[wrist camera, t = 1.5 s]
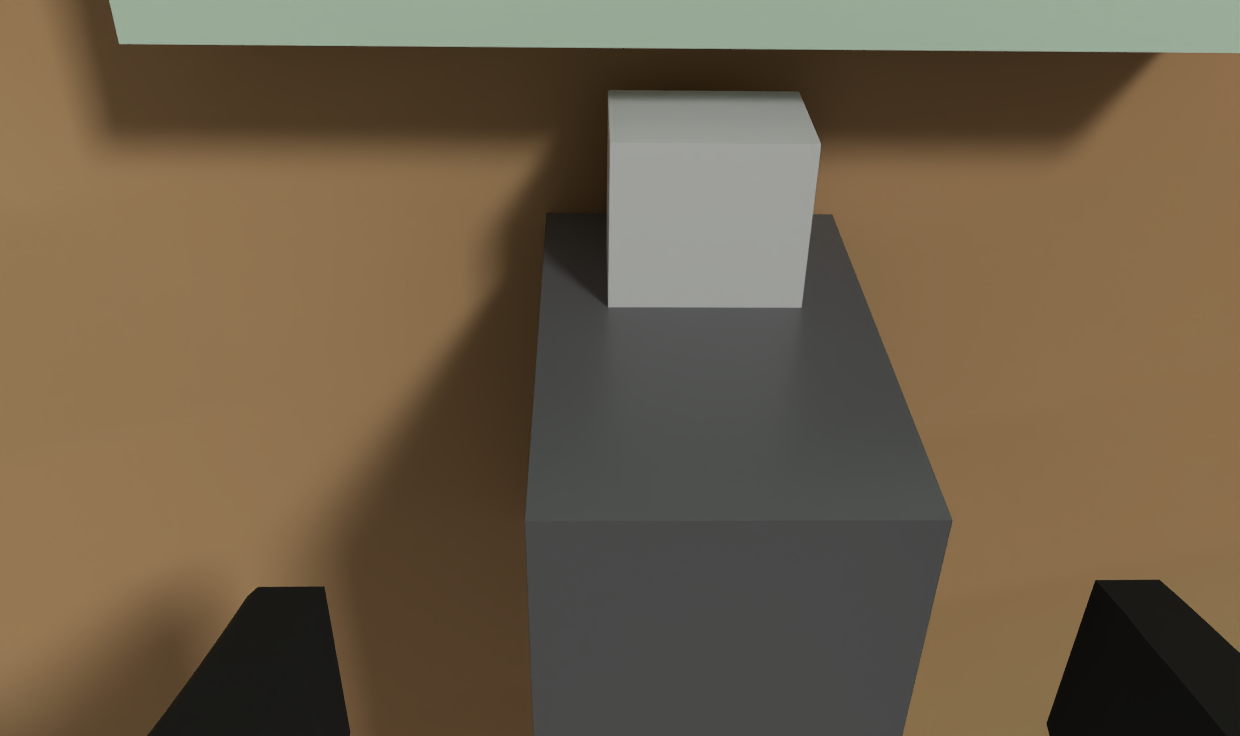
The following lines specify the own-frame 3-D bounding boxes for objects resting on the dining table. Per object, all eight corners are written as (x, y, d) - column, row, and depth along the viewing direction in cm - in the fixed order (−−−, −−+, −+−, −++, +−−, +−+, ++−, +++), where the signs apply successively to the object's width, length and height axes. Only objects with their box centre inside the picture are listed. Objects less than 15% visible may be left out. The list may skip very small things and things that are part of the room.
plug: (792, 518, 16) (870, 873, 12) (553, 518, 16) (539, 877, 12) (851, 67, 13) (997, 328, 8) (543, 64, 13) (517, 326, 8)
